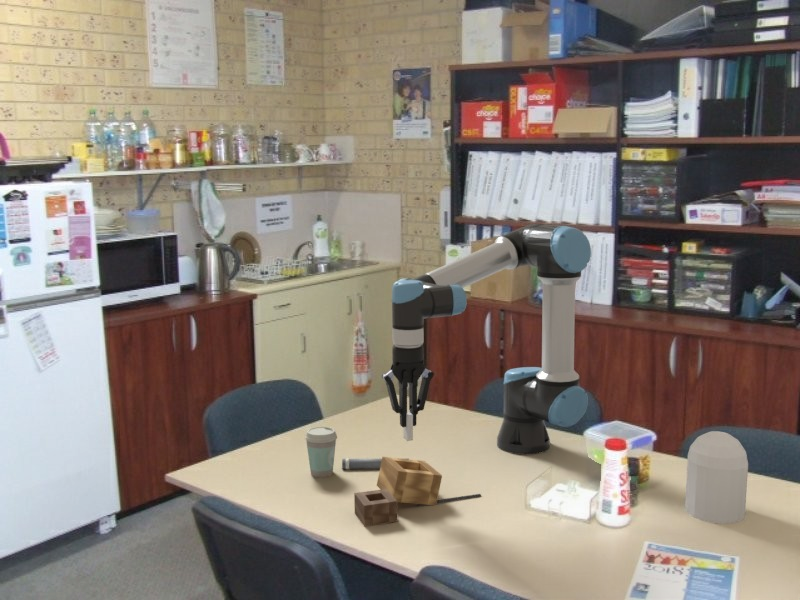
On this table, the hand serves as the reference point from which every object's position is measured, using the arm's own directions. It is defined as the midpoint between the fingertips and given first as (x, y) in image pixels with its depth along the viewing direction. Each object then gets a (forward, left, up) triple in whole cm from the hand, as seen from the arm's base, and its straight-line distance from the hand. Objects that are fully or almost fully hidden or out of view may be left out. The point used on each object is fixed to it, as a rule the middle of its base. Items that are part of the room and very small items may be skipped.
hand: (408, 438), depth 211 cm
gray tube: (-7, -20, -14) cm, 25 cm away
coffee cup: (+16, -24, -16) cm, 33 cm away
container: (-65, +33, -16) cm, 75 cm away
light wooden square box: (+1, 0, -14) cm, 14 cm away
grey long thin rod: (-9, +5, -15) cm, 19 cm away
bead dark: (+11, +8, -15) cm, 21 cm away
